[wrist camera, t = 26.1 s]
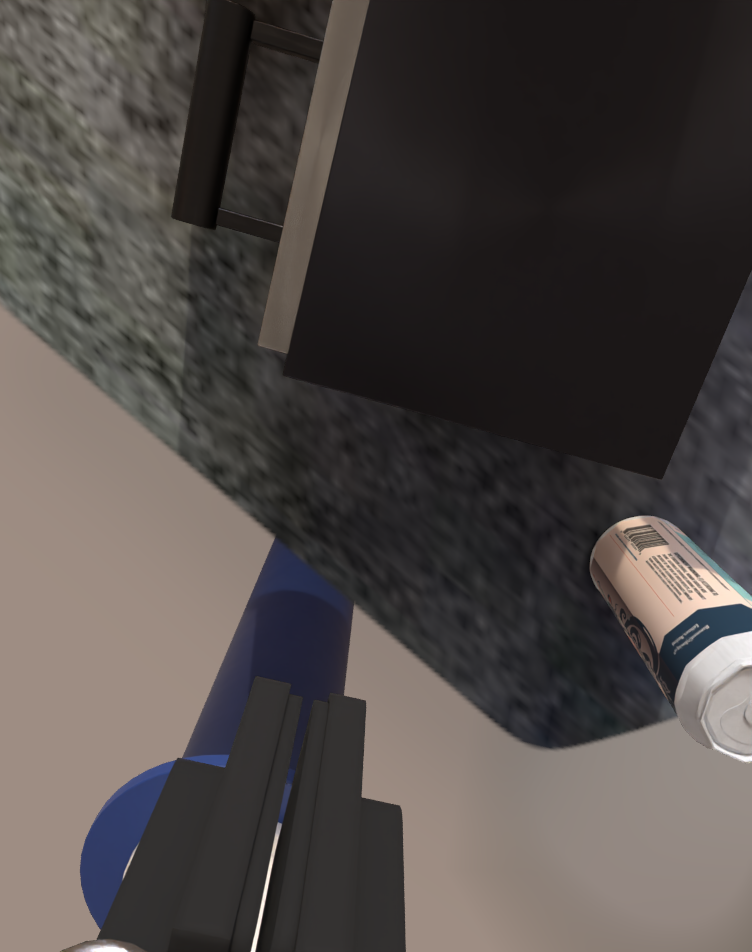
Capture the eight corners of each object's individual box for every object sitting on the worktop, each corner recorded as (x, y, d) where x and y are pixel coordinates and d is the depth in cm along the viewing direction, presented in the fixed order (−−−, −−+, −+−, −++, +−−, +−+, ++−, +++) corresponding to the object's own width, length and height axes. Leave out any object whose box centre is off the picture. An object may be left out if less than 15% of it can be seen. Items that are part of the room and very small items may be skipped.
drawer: (185, 302, 29) (136, 312, 23) (251, -64, 25) (211, -157, 19) (558, 406, 30) (596, 440, 24) (680, 71, 26) (759, 19, 20)
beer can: (568, 577, 34) (658, 740, 22) (619, 495, 32) (743, 625, 21) (651, 615, 34) (781, 793, 23) (704, 536, 33) (871, 684, 21)
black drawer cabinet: (308, 347, 30) (282, 375, 23) (399, -27, 26) (402, -141, 19) (598, 428, 31) (662, 480, 24) (733, 78, 27) (863, 9, 19)
